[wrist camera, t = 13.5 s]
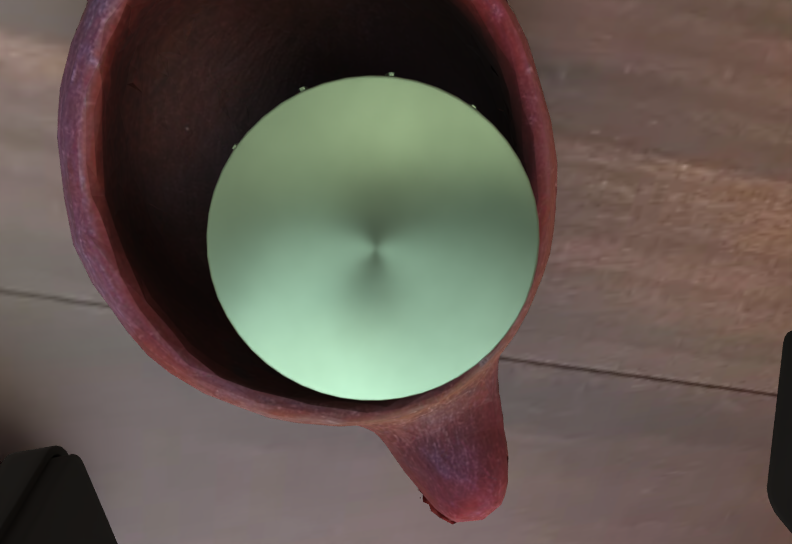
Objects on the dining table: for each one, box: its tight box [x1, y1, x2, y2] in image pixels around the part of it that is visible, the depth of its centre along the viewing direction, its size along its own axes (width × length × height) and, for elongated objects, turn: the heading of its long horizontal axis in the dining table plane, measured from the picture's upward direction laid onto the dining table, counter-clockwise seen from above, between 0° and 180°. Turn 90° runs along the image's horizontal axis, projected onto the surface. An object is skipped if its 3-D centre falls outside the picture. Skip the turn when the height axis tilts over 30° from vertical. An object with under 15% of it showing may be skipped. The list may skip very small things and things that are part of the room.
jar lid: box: [206, 72, 539, 401], centre depth 14 cm, size 7×7×2 cm
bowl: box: [57, 0, 557, 524], centre depth 18 cm, size 16×13×8 cm
